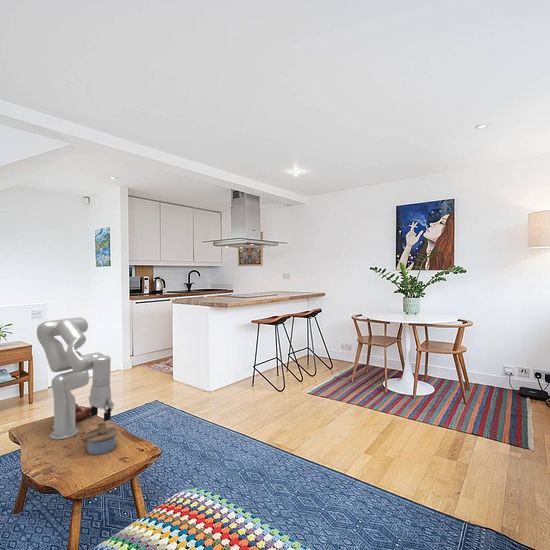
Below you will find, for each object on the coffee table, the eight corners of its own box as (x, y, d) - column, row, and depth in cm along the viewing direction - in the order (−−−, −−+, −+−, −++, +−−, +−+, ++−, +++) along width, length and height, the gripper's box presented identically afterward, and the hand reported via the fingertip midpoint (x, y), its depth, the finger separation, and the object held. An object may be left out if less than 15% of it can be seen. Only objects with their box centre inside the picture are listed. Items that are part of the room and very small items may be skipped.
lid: (78, 438, 162) (78, 426, 162) (104, 426, 175) (104, 415, 175) (98, 445, 156) (98, 433, 156) (124, 432, 169) (124, 421, 169)
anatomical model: (97, 406, 202) (77, 389, 201) (78, 425, 192) (58, 407, 190) (92, 412, 209) (73, 395, 207) (74, 430, 198) (54, 412, 197)
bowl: (82, 450, 163) (82, 437, 163) (105, 440, 173) (105, 428, 173) (98, 456, 158) (98, 443, 158) (120, 445, 168) (120, 433, 168)
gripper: (82, 381, 166) (82, 416, 167) (105, 388, 158) (105, 425, 158) (97, 376, 173) (96, 411, 173) (120, 383, 165) (119, 419, 165)
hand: (100, 417), depth 166 cm, fingers open, 9 cm apart
